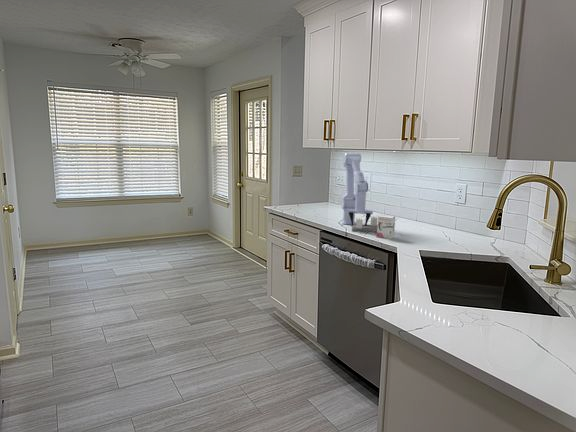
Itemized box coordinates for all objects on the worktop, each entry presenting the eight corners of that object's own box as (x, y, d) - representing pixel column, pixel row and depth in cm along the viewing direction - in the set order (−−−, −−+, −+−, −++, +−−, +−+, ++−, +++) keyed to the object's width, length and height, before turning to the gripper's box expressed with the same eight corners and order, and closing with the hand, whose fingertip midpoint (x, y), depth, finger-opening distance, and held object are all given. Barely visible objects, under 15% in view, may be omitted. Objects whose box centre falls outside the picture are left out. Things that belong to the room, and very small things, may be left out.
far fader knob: (370, 224, 248) (371, 216, 247) (376, 224, 247) (376, 216, 246) (370, 226, 243) (371, 217, 242) (376, 226, 243) (377, 218, 242)
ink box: (376, 237, 222) (377, 215, 220) (378, 235, 226) (380, 214, 224) (392, 239, 218) (393, 217, 216) (394, 237, 222) (395, 216, 220)
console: (351, 225, 251) (351, 223, 250) (383, 227, 248) (383, 225, 248) (351, 231, 234) (352, 229, 234) (385, 233, 231) (385, 231, 231)
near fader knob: (355, 226, 240) (356, 217, 239) (361, 226, 240) (362, 218, 239) (355, 228, 236) (356, 219, 235) (362, 228, 235) (362, 219, 234)
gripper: (347, 203, 232) (346, 226, 235) (373, 204, 230) (371, 227, 233) (347, 201, 239) (346, 224, 241) (372, 202, 237) (371, 225, 239)
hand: (359, 225), depth 237 cm, fingers open, 7 cm apart
